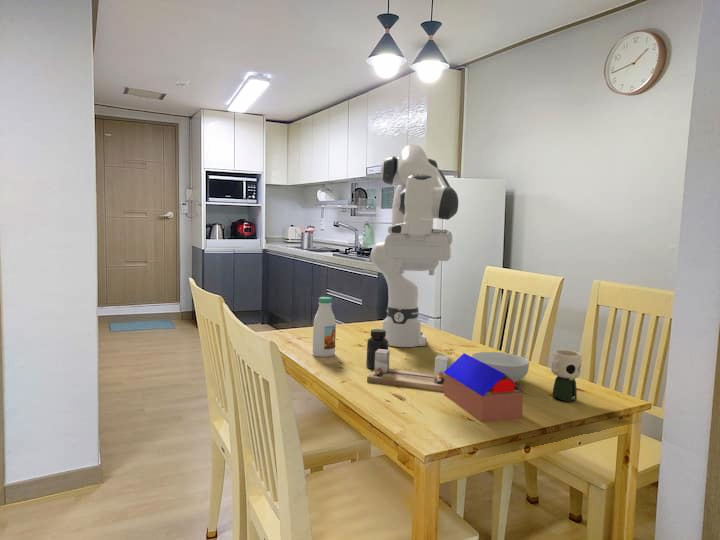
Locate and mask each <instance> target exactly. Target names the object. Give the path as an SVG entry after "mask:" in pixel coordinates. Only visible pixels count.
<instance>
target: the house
mask: <svg viewBox="0 0 720 540" xmlns="http://www.w3.org/2000/svg"><path fill="white" fill-rule="evenodd" d="M444 373H445V387H444V393H443V395H444V397H446V398H447V399H448V400H451V402H453V403H454V404H456V405H457V406H459V407H460V408H461V409H463V410H464V411H466V412H467V413H468V414H469V415H471V416H473V417H475V418H476V419H477V420H479V421H480V422H482V423H483V422H491V421H492V422H493V421H501V420H500V419H502V420H510V418H512V419H521V418H520V417H522V418H523V404H524V393H525V391H524V390H523V389H522V388H521V387H520V386H519V385H518V384H517V383H516V382H513V381H512V380H511V379H510V378H509V377H508V376H507V375H506V374H504V373H502V372H500V371H498V370H496V369H494V368H492V367H490V366H488V365H486V364H484V363H483V362H481V361H479V360H477V359H475V358H473V357H472V355H471V356H470V355H468V354H467V353H463V354H461V355H460V356H459V357H458V358H457V359H456V360H455V361H454V362H453V363H452V364H450V365H449V368H448V369H447V370H445V371H444Z"/></svg>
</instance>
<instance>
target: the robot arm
mask: <svg viewBox="0 0 720 540" xmlns="http://www.w3.org/2000/svg"><path fill="white" fill-rule="evenodd" d="M398 155H399V156H395V155H392V156H389V157H386V158H385V159H384V160H383V162H382V164H381V167H380V175H381V179H382V182H383V183H385V184H387V185H389V186H390V185H391V186H392V185H396V186H397V187H396V188H395V191H394V194H393V200H392V206H391V207H392V209H391V225H390V226H388V228H387V233H388V234H387V235H386V237H385V240H384V241H381V242H376V243H375V244H374V245H373V247H372V249H371V252H370V259H371V263H372V265H373V266H374V267H375V268H376V269H377V270H378V271H379V272H381V274H382V275H383V278H384V279H385V280H386V284H387V289H388V290H387V292H388V303H387V307H386V318H384V319H383V320H382V325H381V329H382V330H385V331H386V337H385V338H386V339H387V340H388V346H391V347H397V348H415V347H425V346H427V344H426V343H427V341H426V335H425V334H423V331H421V328H422V327H421V326H422V325H421V321H420V319H419V313H420V312H419V307H418V300H419V299H418V298H419V297H418V296H419V289H418V286H417V285H416V283H415V282H413V281H412V280H409V279H408V278H406V277H404V276H403V274H404V273H405V271H406V272H426V271H427V272H428V275H429V276H435V270H436V268H437V267H438V266H439V262H440V261H443V262H447V261H449V260H450V259H451V257H452V251H451V250H452V249H451V248H452V247H451V244H452V243H453V234H452V232H451V231H449V230H448V229H437V228H436V229H435V228H434V219H438V220H445V221H446V220H447V221H448V220H450V219H451V218H452V217H454V216H455V215H456V214H458V213H457V212H458V209H459V197H458V193H457V192H456V191H455V189H454V188H453V187H452V186H451V185H450V183H449V181H448V180H447V178H446V177H445V175H444V174H443V172H442V171H441V169H440V168H439V166H438V163H437V161H436V160H434V159H432V158H428V156H427V154H426V152H425V151H424V148H422V147H421V146H420V145H417V144H408V145H406V146H404V147H403V148H402V150H401V151H400V153H399V154H398Z"/></svg>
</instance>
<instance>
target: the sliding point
mask: <svg viewBox="0 0 720 540" xmlns="http://www.w3.org/2000/svg"><path fill="white" fill-rule="evenodd" d="M449 367H450V356H448V355H436V356H435V357H434V373H433V374H434V379H437V382H442V380H445V373H444V371H445V370H447V369H448V368H449Z"/></svg>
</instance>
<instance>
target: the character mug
mask: <svg viewBox="0 0 720 540" xmlns="http://www.w3.org/2000/svg"><path fill="white" fill-rule="evenodd" d="M552 356H553V359H552V361H551V369H550V371H551V372H552V374H553V375H554V376H556V377H555V380H554V384H553V389H552V394H551V395H552V396H553V397H555V398H557V399H558V400H560V401H565V402H568V401H569V402H572V401H573V398H574V401H576V400H577V399H578V396H577V395H578V394H577V381H576V379H578V378H579V377H580V376H581V373H582V371H581V368H582V361H583V360H582V353H581V352H578V351H574V350H570V349H568V350H567V349H555V350H553V355H552Z"/></svg>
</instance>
